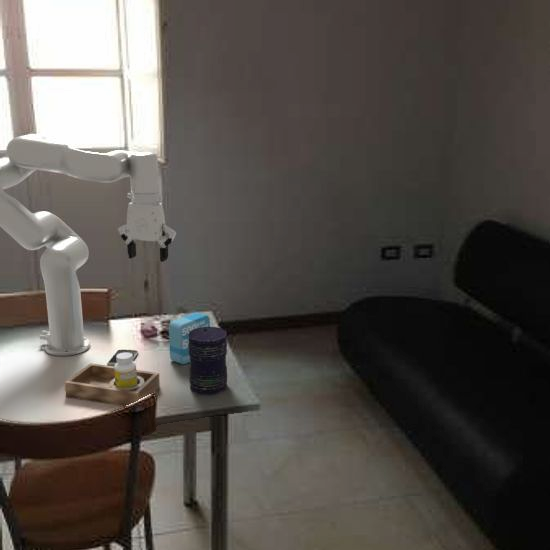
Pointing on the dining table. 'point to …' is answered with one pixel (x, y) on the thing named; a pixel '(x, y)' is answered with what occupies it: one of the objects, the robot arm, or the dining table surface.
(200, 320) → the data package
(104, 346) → the dining table surface
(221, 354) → the storage jar
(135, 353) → the cell phone
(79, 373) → the walnut box
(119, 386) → the supplement bottle
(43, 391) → the dining table surface
